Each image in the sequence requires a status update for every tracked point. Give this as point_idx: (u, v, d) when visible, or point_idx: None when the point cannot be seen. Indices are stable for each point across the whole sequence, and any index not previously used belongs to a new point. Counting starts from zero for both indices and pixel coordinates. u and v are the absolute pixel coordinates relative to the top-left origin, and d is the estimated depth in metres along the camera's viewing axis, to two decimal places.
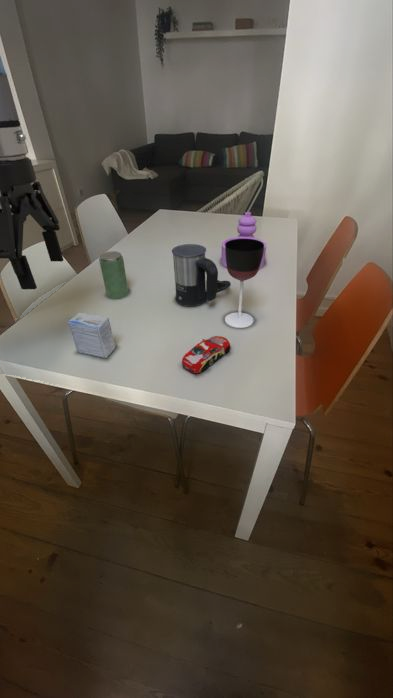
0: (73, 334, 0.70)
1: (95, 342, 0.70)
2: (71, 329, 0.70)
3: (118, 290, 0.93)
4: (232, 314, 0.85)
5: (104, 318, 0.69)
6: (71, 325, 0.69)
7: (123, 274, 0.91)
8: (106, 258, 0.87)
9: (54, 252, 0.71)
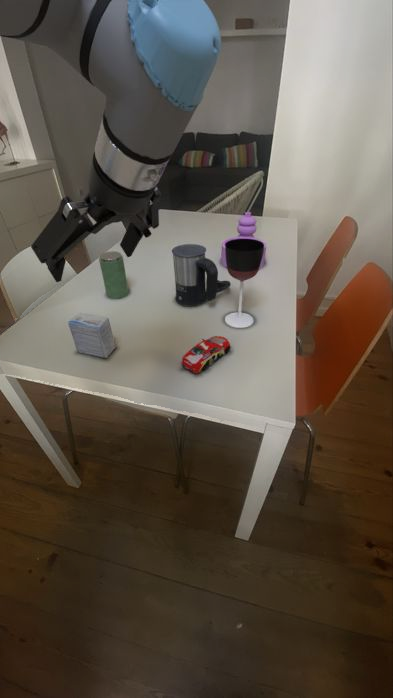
0: (73, 334, 0.70)
1: (95, 342, 0.70)
2: (71, 329, 0.70)
3: (118, 290, 0.93)
4: (232, 314, 0.85)
5: (104, 318, 0.69)
6: (71, 325, 0.69)
7: (123, 274, 0.91)
8: (106, 258, 0.87)
9: (127, 245, 0.56)
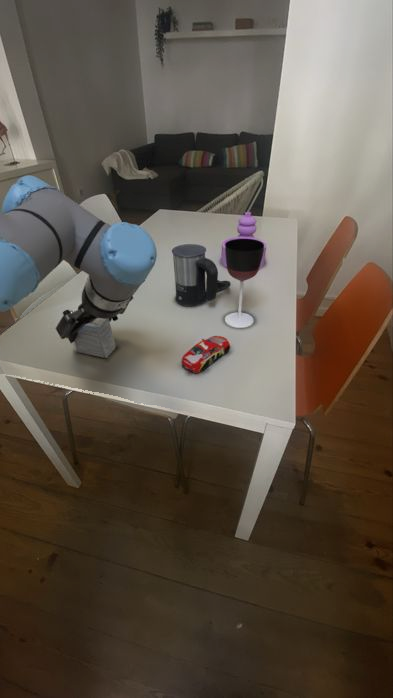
0: None
1: (95, 342, 0.70)
2: None
3: None
4: (232, 314, 0.85)
5: None
6: None
7: None
8: None
9: None
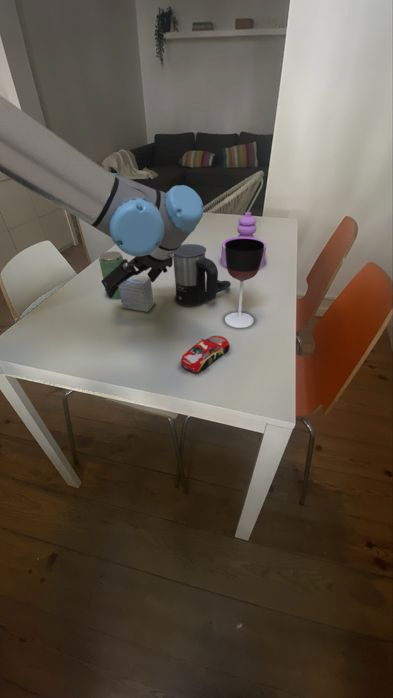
0: (121, 291, 0.86)
1: (139, 297, 0.85)
2: (120, 287, 0.85)
3: (118, 290, 0.93)
4: (232, 314, 0.85)
5: (147, 277, 0.85)
6: None
7: None
8: (106, 258, 0.87)
9: (152, 275, 0.89)
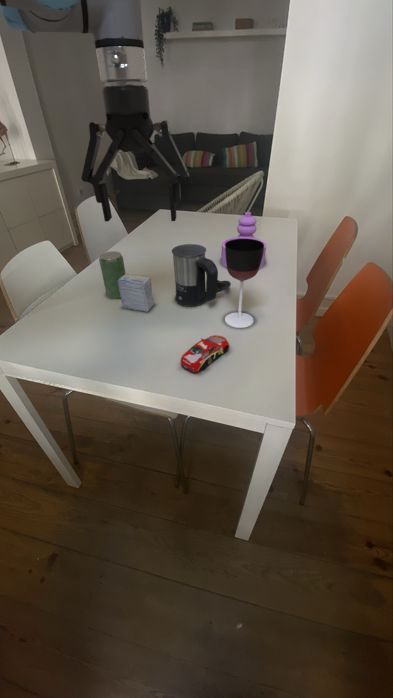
0: (121, 291, 0.86)
1: (139, 297, 0.85)
2: (120, 287, 0.85)
3: (118, 290, 0.93)
4: (232, 314, 0.85)
5: (147, 277, 0.85)
6: (120, 283, 0.84)
7: (123, 274, 0.91)
8: (106, 258, 0.87)
9: None
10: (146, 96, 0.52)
